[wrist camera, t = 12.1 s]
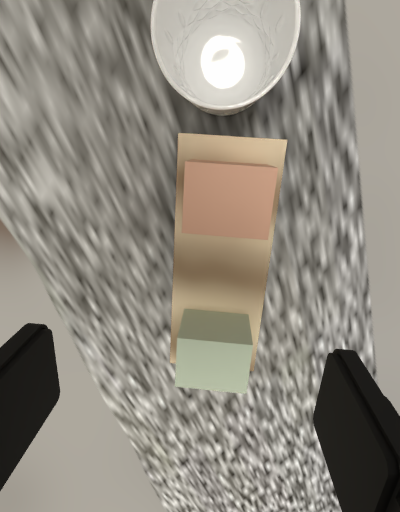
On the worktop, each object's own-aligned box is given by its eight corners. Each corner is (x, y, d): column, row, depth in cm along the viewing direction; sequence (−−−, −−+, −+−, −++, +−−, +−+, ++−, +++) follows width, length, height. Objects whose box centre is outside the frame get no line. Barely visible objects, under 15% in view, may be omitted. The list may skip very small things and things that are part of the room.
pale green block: (184, 308, 24) (177, 338, 20) (248, 314, 24) (253, 345, 20) (182, 351, 25) (174, 386, 22) (242, 357, 25) (246, 393, 21)
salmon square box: (192, 159, 20) (185, 161, 17) (267, 164, 20) (278, 167, 16) (188, 218, 22) (181, 233, 18) (260, 224, 21) (267, 240, 18)
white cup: (243, -8, 24) (257, -111, 14) (288, 90, 26) (325, 55, 16) (159, 54, 26) (121, -2, 16) (206, 141, 27) (197, 137, 18)
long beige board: (186, 136, 25) (178, 132, 20) (275, 141, 24) (287, 139, 20) (178, 329, 31) (169, 362, 26) (248, 336, 30) (253, 371, 26)
